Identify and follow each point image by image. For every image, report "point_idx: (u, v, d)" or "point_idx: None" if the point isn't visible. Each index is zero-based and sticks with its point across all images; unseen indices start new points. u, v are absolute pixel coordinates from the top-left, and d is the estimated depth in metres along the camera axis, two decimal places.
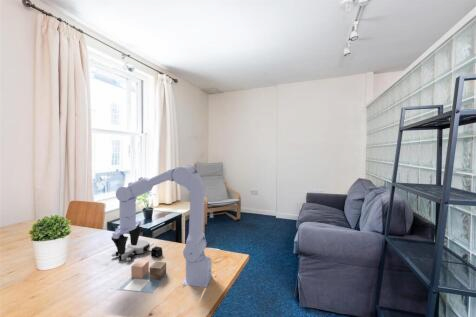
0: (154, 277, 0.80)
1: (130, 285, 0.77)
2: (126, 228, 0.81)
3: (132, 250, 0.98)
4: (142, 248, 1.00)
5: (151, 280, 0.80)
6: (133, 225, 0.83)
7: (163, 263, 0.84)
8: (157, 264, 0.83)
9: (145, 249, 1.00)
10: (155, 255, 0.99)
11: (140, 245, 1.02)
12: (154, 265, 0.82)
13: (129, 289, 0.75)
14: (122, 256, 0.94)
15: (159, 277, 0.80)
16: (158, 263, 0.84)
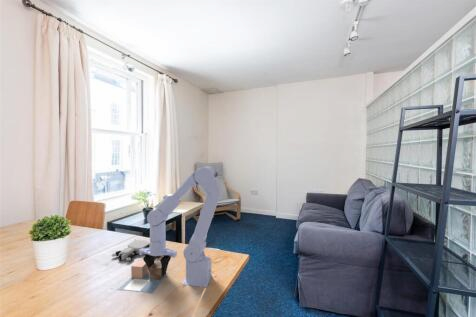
0: (154, 277, 0.80)
1: (130, 285, 0.77)
2: (149, 250, 0.81)
3: (132, 250, 0.98)
4: None
5: (151, 280, 0.80)
6: (152, 251, 0.80)
7: None
8: (157, 264, 0.83)
9: None
10: None
11: (140, 245, 1.02)
12: (154, 265, 0.82)
13: (129, 289, 0.75)
14: (122, 256, 0.94)
15: (159, 277, 0.80)
16: (158, 263, 0.84)
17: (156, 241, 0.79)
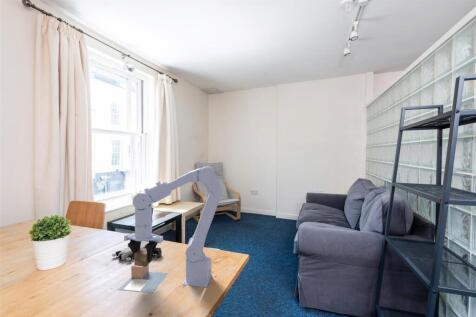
0: (139, 263, 0.77)
1: (130, 285, 0.77)
2: (135, 236, 0.78)
3: None
4: None
5: (151, 280, 0.80)
6: (137, 236, 0.76)
7: None
8: (143, 250, 0.79)
9: None
10: (154, 256, 0.98)
11: None
12: (139, 251, 0.78)
13: (129, 289, 0.75)
14: (122, 256, 0.94)
15: (144, 263, 0.76)
16: (144, 249, 0.80)
17: (143, 225, 0.76)
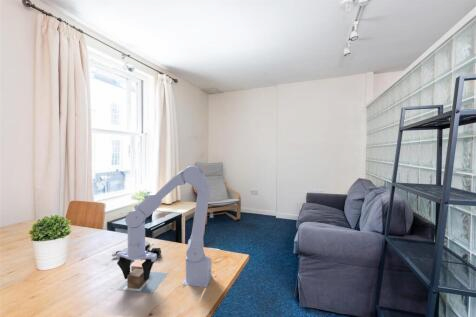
0: (132, 285, 0.75)
1: None
2: (127, 254, 0.76)
3: None
4: None
5: (151, 280, 0.80)
6: (130, 255, 0.74)
7: None
8: (136, 271, 0.78)
9: (145, 249, 1.00)
10: None
11: None
12: (133, 272, 0.77)
13: (129, 289, 0.75)
14: None
15: (137, 286, 0.75)
16: (137, 270, 0.78)
17: (136, 244, 0.74)
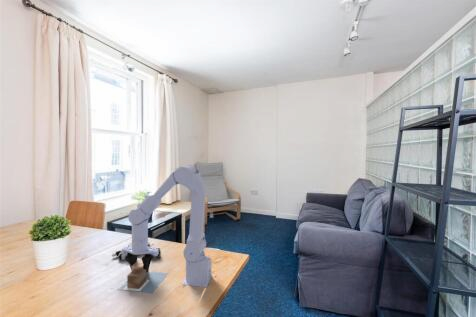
0: (132, 285, 0.75)
1: None
2: (131, 249, 0.82)
3: None
4: None
5: (151, 280, 0.80)
6: (134, 250, 0.81)
7: (143, 270, 0.78)
8: (136, 271, 0.78)
9: None
10: (154, 257, 0.97)
11: None
12: (133, 272, 0.77)
13: (129, 289, 0.75)
14: (122, 256, 0.94)
15: (137, 286, 0.75)
16: (137, 270, 0.78)
17: (137, 240, 0.80)
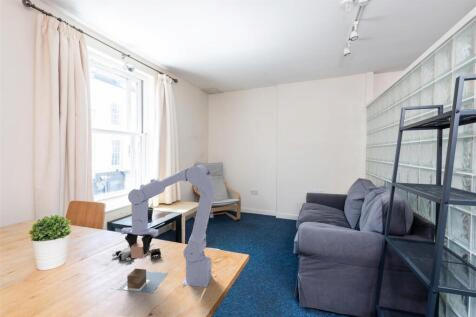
0: (132, 285, 0.75)
1: None
2: (131, 229, 0.82)
3: None
4: None
5: (151, 280, 0.80)
6: (134, 230, 0.80)
7: (143, 270, 0.78)
8: (136, 271, 0.78)
9: None
10: (154, 258, 0.96)
11: None
12: (133, 272, 0.77)
13: (129, 289, 0.75)
14: (122, 256, 0.94)
15: (137, 286, 0.75)
16: (137, 270, 0.78)
17: (137, 220, 0.80)
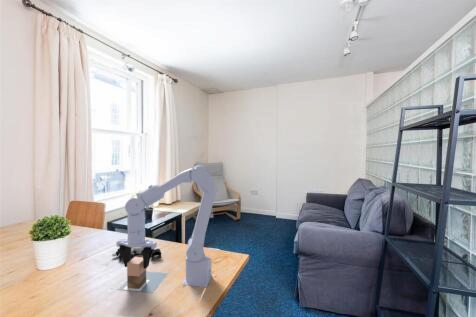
0: (132, 285, 0.75)
1: None
2: (127, 241, 0.76)
3: (132, 250, 0.98)
4: (142, 248, 1.00)
5: (151, 280, 0.80)
6: (130, 242, 0.74)
7: None
8: None
9: None
10: (155, 258, 0.96)
11: None
12: None
13: (129, 289, 0.75)
14: None
15: (137, 286, 0.75)
16: None
17: (136, 231, 0.74)
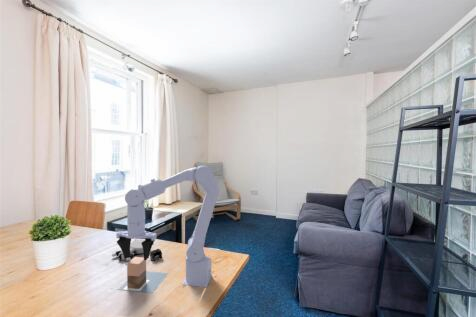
0: (132, 285, 0.75)
1: None
2: (127, 233, 0.76)
3: (132, 250, 0.98)
4: (142, 248, 1.00)
5: (151, 280, 0.80)
6: (130, 233, 0.74)
7: None
8: None
9: None
10: (155, 258, 0.96)
11: (140, 245, 1.02)
12: None
13: (129, 289, 0.75)
14: (122, 256, 0.94)
15: (137, 286, 0.75)
16: None
17: (136, 222, 0.74)
